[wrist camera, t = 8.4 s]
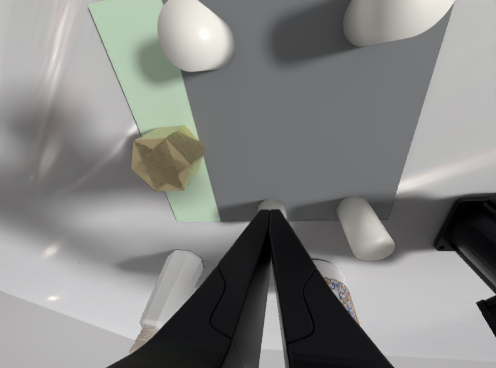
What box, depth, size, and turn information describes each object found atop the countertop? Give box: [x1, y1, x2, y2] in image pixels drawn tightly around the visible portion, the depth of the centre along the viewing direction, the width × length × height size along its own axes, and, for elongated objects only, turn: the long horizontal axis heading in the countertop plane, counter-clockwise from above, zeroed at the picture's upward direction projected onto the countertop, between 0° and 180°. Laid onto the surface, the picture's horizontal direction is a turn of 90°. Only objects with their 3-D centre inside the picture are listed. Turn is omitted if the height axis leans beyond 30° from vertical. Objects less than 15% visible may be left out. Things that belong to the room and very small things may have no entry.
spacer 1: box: [157, 0, 235, 72], centre depth 12 cm, size 3×3×5 cm
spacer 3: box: [336, 196, 395, 261], centre depth 17 cm, size 3×3×5 cm
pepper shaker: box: [129, 250, 204, 354], centre depth 24 cm, size 5×5×11 cm
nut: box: [131, 125, 205, 191], centre depth 17 cm, size 5×5×4 cm
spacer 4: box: [343, 0, 455, 47], centre depth 10 cm, size 3×3×5 cm
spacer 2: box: [257, 199, 287, 220], centre depth 19 cm, size 3×3×5 cm
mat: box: [88, 0, 455, 222], centre depth 17 cm, size 20×23×1 cm
